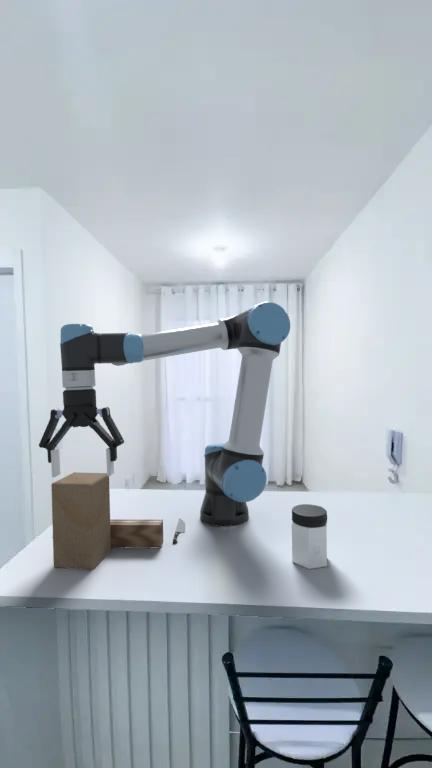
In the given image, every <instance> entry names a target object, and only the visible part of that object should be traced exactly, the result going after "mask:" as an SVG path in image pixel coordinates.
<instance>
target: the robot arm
mask: <svg viewBox="0 0 432 768" xmlns="http://www.w3.org/2000/svg"><path fill="white" fill-rule="evenodd" d="M290 330H291V320H290V317H289V314H288V313H287V312H286V310H285V309H284V307H282V305H279V304H277V303H276V302H273V301H263V302H260V303H259V302H258V303H256V304H254V305H253V306H251V307H250V308H248V309H244V310H243V311H242V312H240V313H237V314H235V315H233V316H229V317H226V318H225V317H224V318H219V319H218V320H217V321H216V322H215V323H209V324H202V325H197V326H190V327H182V328H177V329H170V330H163V331H157V332H151V333H145V334H140V333H133V332H115V333H114V332H111V333H110V332H108V333H106V332H105V333H100V332H98V333H97V332H95V331H94V327H93V326H92V325H90V324H87V323H83V324H82V323H67V324H64V325H62V327H60V343H59V347H60V359H61V361H60V363H61V377H62V378H61V379H62V382H61V383H62V388H65V389H64V390H63V391H62V400H63V401H62V405H63V409H59V408H55V409H54V408H53V409H51V410H50V413H49V414H50V415H49V420H48V423H47V425H46V427H45V430H44V432H43V434H42V437H41V439H40V441H39V444H38V446H39V448H41V449H42V448H43V449H45V450H46V451H47V463H49V464H51V478H56V477H58V476H59V475H61V460H60V456H61V455H60V448H59V447H58V448H57V446H58V445H59V444H60V442H61V441H62V439H63V438H64V437H65V435H66V434H67V433H68V431H69V430H70V429H71V428H72V427H73V428H78V427H81V428H87V427H89V428H90V429H92V430H93V432H95V433H96V435H97V436H98V437H99V438H100V439H101V440H102V441H103V442H104V443H105V444H106V445H107V448H106V449H105V452H106V453H105V454H106V455H105V456H106V473H107V476H109V477H111V476H112V475H114V474H115V465H114V462H116V461H117V460H118V449H117V448H118V447H119V446H121V445H123V444H124V443H125V439H124V438H123V436H122V434H121V432H120V430H119V428H118V427H117V424H116V423H115V421H114V419H113V418H112V415H111V409H110V408H109V406H106V407H101V408H98V407H97V390H96V389H95V388H94V387H96V367H95V364H111V365H113V366H117V367H119V366H124V365H127V364H136V363H141V362H144V361H149V360H155V359H156V360H157V359H161V358H166V357H174V356H178V355H185V354H190V353H196V352H203V351H209V350H213V349H221V350H223V351H227V350H228V351H229V350H235V349H236V350H238V352H239V354H240V355H241V362H240V366H239V367H240V369H239V374H238V379H237V380H238V381H237V385H236V392H235V400H234V406H233V413H232V417H231V418H232V419H231V424H230V431H229V437H228V441H226V442H225V443H224V442H223V443H222V442H221V443H213V444H208V445H206V446H205V448H204V455H203V456H204V478H205V479H204V481H205V483H204V484H205V491H204V492H205V494H204V496H203V500H202V504H201V507H200V510H199V512H200V513H199V515H200V520H201V521H202V522H203V523H205V524H207V525H210V526H214V527H233V526H239V525H241V524H243V523H245V522H247V521H248V519H249V516H250V515H249V514H250V513H249V508H248V505H247V504H248V502H252V501H254V500H256V498H258V497H259V496H260V495H261V494H262V493H263V492H264V491H265V488H266V484H267V480H268V479H267V477H268V476H267V473H266V470H265V468H264V465H263V463H264V462H263V461H264V460H263V459H264V455H265V452H264V450H263V449H262V448H261V446H260V445H261V444H260V443H261V437H262V431H263V425H264V419H265V411H266V405H267V400H268V399H267V398H268V392H269V385H270V382H271V381H270V378H271V375H272V367H273V361H274V360H275V359H276V358H277V357H279V356H280V353H281V352H280V351H281V344H282V343H283V342H284V341H285V340H286V339H287V338H288V336H289V334H290ZM98 415H99V416H100V417H101V418H102V420H103V423H104V424H105V426H106V427H107V430H108V431H109V433H108V431H107V430H106V429H105V428H104V427H103V426H102V425H101V423H100V422H99V420H98V419H97V418H96V417H98ZM62 416H63V418H64V419H65V421H63V424H61V427H60V428H59V429H58V431H57V432H56V434H55V435H54V433H55V431H56V428H57V426H58V424H59V421H60V419H61V418H62ZM53 435H54V436H53Z"/></svg>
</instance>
